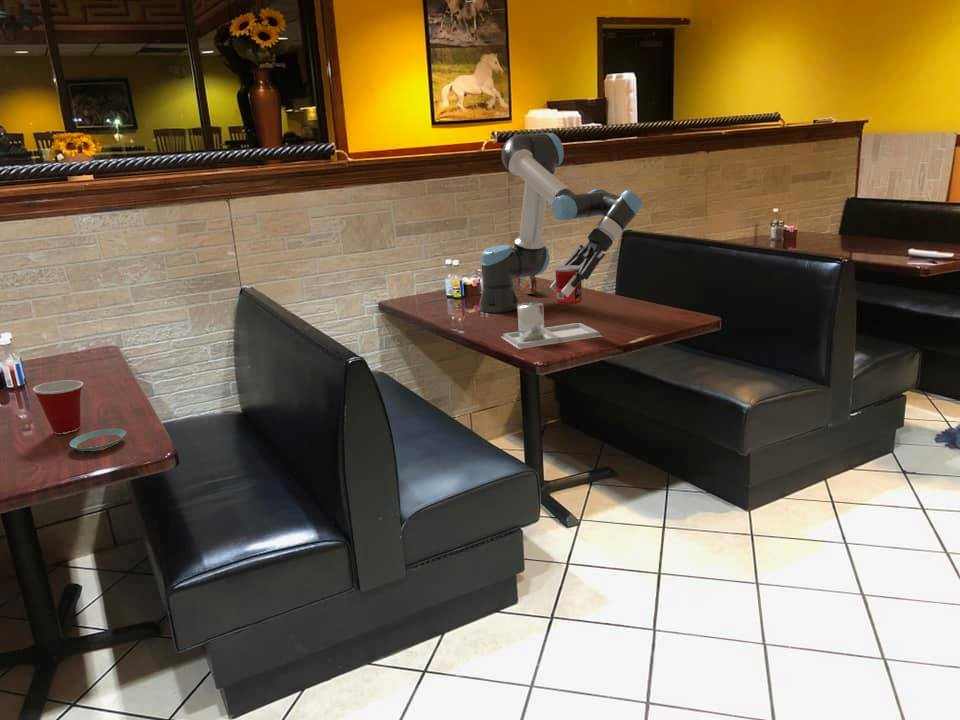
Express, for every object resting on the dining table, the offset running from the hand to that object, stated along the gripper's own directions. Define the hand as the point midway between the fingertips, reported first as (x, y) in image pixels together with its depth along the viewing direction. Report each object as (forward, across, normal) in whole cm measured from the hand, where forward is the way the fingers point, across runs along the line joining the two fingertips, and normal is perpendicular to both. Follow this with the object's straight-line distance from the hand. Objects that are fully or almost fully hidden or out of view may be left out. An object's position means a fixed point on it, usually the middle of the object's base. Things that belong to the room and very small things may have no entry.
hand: (558, 291), depth 234 cm
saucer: (+103, -29, +81) cm, 134 cm away
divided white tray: (+13, 0, -9) cm, 16 cm away
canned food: (0, 0, -5) cm, 5 cm away
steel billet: (+17, 0, -3) cm, 17 cm away
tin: (-2, +73, -24) cm, 77 cm away
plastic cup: (+109, -14, +88) cm, 141 cm away
